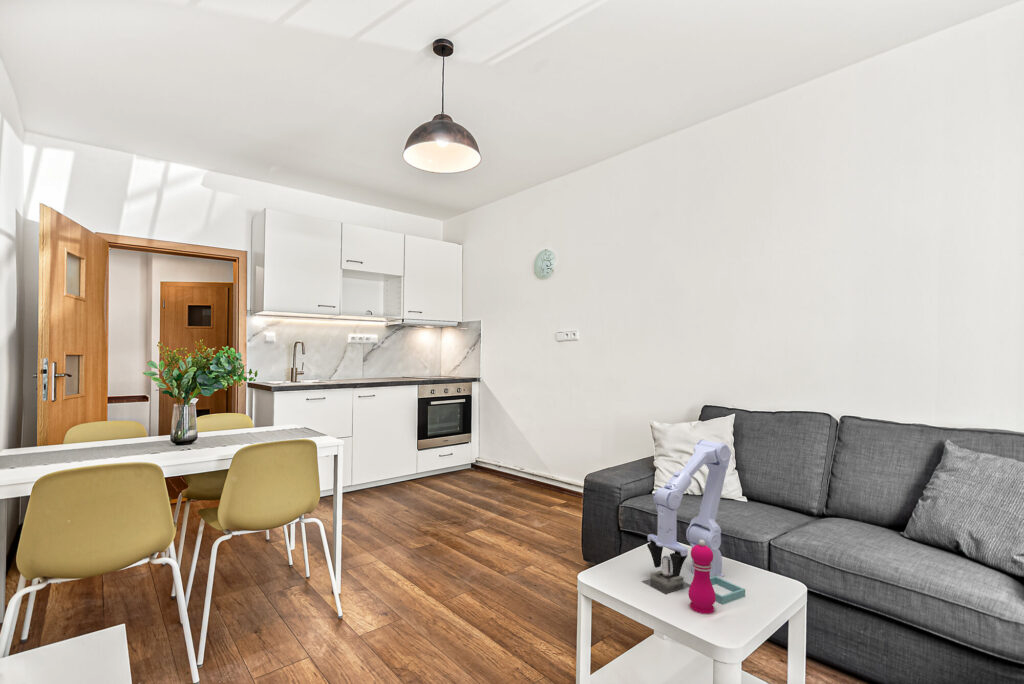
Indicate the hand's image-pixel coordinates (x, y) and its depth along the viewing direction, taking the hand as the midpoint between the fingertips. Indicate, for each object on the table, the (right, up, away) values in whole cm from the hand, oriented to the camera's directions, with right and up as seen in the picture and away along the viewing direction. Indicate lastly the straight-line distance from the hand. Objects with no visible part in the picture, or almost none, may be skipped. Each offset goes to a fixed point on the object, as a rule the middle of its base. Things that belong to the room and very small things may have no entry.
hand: (666, 571), depth 156 cm
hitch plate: (0, -5, 0) cm, 5 cm away
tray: (+14, -5, -6) cm, 16 cm away
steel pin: (0, -4, 0) cm, 4 cm away
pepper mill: (+5, -5, -15) cm, 17 cm away
